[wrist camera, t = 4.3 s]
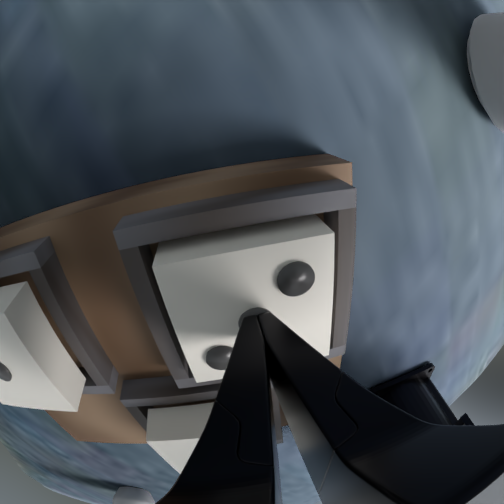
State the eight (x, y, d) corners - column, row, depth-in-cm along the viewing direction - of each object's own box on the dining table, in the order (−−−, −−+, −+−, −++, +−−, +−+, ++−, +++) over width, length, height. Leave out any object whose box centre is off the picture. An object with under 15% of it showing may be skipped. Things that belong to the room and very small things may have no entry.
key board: (327, 153, 11) (370, 170, 8) (322, 390, 18) (338, 427, 15) (-34, 241, 9) (-68, 272, 6) (81, 419, 16) (74, 453, 13)
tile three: (312, 211, 9) (336, 235, 8) (314, 325, 12) (330, 357, 10) (159, 239, 9) (151, 268, 7) (195, 349, 11) (196, 385, 10)
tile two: (254, 395, 12) (263, 431, 10) (265, 438, 14) (271, 466, 12) (148, 408, 11) (145, 443, 9) (180, 449, 14) (182, 477, 12)
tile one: (27, 281, 8) (2, 315, 6) (86, 378, 10) (76, 414, 8) (-40, 296, 7) (-62, 322, 5) (13, 377, 9) (1, 406, 8)
